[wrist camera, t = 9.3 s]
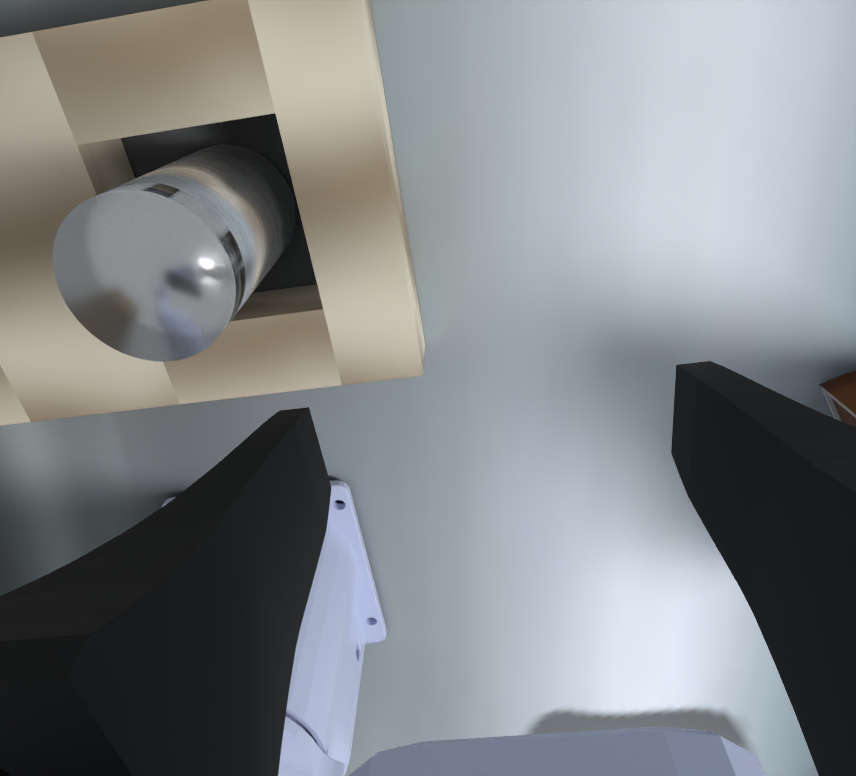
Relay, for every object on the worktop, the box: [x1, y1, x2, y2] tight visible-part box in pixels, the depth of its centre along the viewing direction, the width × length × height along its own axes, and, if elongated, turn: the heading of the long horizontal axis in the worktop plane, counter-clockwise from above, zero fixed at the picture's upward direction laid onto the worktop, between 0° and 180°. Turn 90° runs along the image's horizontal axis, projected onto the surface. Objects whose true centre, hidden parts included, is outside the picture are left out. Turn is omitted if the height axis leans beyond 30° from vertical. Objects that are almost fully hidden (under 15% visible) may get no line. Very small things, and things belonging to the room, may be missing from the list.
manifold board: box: [0, 0, 425, 425], centre depth 19 cm, size 11×20×2 cm, turn 98°
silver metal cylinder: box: [53, 144, 296, 362], centre depth 17 cm, size 4×4×7 cm
